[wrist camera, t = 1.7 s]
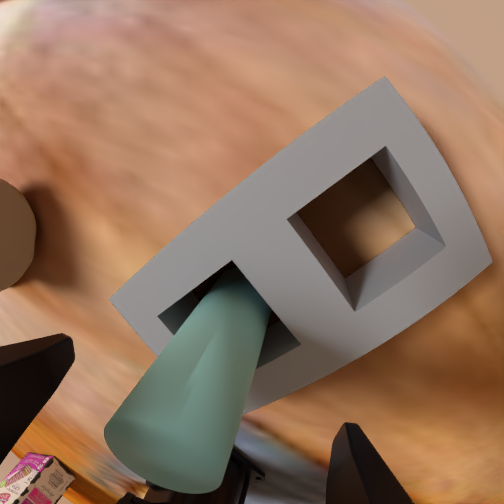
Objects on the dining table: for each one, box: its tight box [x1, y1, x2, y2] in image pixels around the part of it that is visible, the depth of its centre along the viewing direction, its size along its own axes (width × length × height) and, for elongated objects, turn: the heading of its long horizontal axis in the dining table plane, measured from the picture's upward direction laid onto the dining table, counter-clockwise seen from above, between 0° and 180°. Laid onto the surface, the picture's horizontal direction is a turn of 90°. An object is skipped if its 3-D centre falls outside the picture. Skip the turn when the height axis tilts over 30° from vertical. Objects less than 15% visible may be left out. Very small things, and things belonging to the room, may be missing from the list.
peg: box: [104, 267, 272, 494], centre depth 10 cm, size 3×3×10 cm
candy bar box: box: [0, 452, 75, 504], centre depth 21 cm, size 11×5×16 cm, turn 120°
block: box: [109, 76, 493, 414], centre depth 12 cm, size 8×14×4 cm, turn 129°
